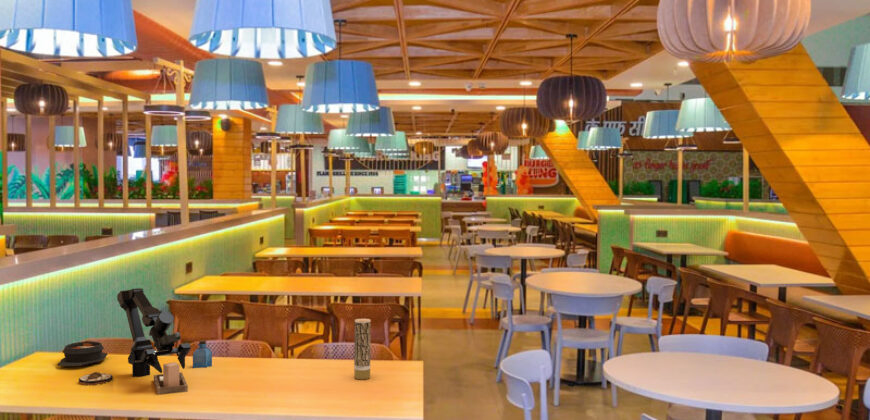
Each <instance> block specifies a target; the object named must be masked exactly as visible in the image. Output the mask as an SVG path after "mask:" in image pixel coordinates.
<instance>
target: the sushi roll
mask: <svg viewBox="0 0 870 420" xmlns="http://www.w3.org/2000/svg"><path fill="white" fill-rule="evenodd" d="M111 380H112V381H113V374H111V373H105V372H99V371H95V372H93V373H89V374H85V375H82V376H81V377H79V378H78V382H79V383H80V385H82V384H83V385H84V386H88V385H89V386H91V385H92V386H98V385H97V384H101V385H103V383H104V384H107V383H106V382H108V383H110V382H111Z"/></svg>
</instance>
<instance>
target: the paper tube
mask: <svg viewBox="0 0 870 420" xmlns="http://www.w3.org/2000/svg"><path fill="white" fill-rule="evenodd" d="M371 322H372V321H371V319H370V318H356V319H354V355H353V356H354V359H353V360H354V362H353V363H354V364H353V368H354V375H353V377H354V378H355V379H356V380H363V381H364V380H367V379H370V378H371V342H372V341H371V340H372V339H371V338H372V337H371V333H372V330H371V328H372V327H371V325H372V323H371Z"/></svg>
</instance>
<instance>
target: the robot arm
mask: <svg viewBox="0 0 870 420" xmlns="http://www.w3.org/2000/svg"><path fill="white" fill-rule="evenodd" d="M116 299H117V302H118V304H119V307H120V308H121V309H123V311H124V312H125V313H126V318H127V322H128V327H129V330H130V334H131V338H132V344H131V348H130V353H129V355H128V357H127V363H128V364H130V365H132V367H131V368H132V369H131V371H132V372H131V373H132V375H131V376H132V377H133V378H141V377H142V378H143V377H146V376H147V377H148V376H150V375H151V367H152V368H154V369H155V370H156V371H157V372H158V373H159V374H163V367H162V366H161V364H160V361H159V359H158V357H160V356H167V355H174V354H175V355H176V357H177V360H178V363H179V365H180V366H181V368H182V369H183V370H184V369H185V368H186V356H187V355H188V354H189V352H190V350H191V349H192V346H191V343H189V342H185V343H180V344H179V345H178V346H177V347H175V346H176V343H178V341H180V340H182V337H181V334H180V332H179V331H177V332H174V333H173V334H168V333H167V331H168V330H169V329H170V326H171V325H172V323H173V322H174V318H175V317H174V315H173V314H172V313H171V312H169V311H167V310H166V309H162V310H160V309H159V308H157V307H154V306H153V304H152V303H151V302H150V300H149V298H148V297H147V296H146V294H145V292H144V289H143V288H141V287H138V288H137V287H136V288H131V289H125V290H120V291H119V293H117V295H116ZM139 311H140V313H141V315H142V316H140V313H139ZM141 320H142V321H141ZM142 324H143V325H142ZM143 326H144V327H145V328H146V327H147V328H148V327H150V329H149V333H148V336H149V337H150V336H151V337H152V340H153V345H152V340H151V339H147V338H146V337H145V331H144V328H143Z"/></svg>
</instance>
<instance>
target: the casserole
mask: <svg viewBox="0 0 870 420" xmlns="http://www.w3.org/2000/svg"><path fill="white" fill-rule="evenodd" d="M104 349H105V347H104V346H103V345H102V342H99V341H91V340H90V341H79V342H74V343H68V344H66V345H64V348H63V350H62V352H61V353H63V354H64V357H63V358H62V359H60V362H59V361H58V363H57V365H58V366H61V367H81V366H83V367H84V365H85V366H90V364H91V365H93V364H97V363H99V362H101V361H104V360H106V358H107V356H108V353H107V352H103V350H104Z"/></svg>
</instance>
